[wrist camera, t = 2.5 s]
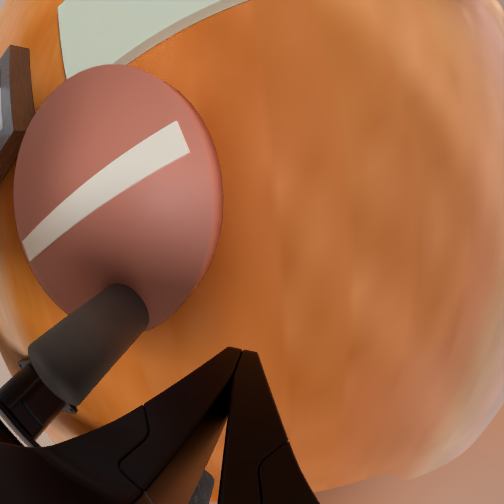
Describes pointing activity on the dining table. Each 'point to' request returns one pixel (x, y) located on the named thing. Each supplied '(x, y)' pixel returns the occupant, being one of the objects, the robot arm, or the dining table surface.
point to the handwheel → (113, 216)
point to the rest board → (124, 28)
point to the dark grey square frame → (14, 103)
